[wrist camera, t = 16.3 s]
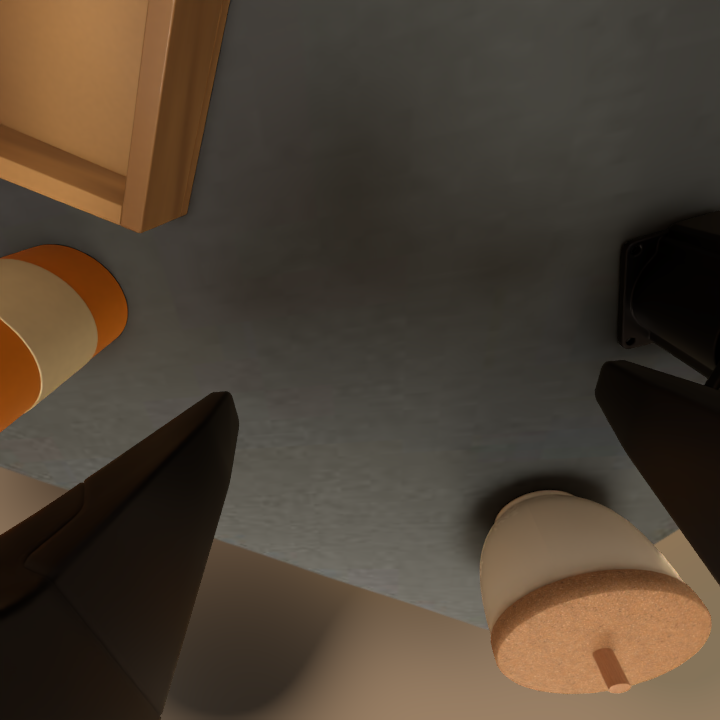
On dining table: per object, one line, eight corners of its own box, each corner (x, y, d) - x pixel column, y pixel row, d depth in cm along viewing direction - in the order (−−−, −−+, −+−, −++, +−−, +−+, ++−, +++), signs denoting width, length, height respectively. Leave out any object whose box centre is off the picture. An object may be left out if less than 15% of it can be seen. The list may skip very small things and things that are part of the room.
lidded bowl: (494, 583, 35) (545, 747, 26) (434, 503, 30) (471, 673, 20) (635, 536, 32) (753, 703, 23) (596, 438, 27) (730, 602, 17)
